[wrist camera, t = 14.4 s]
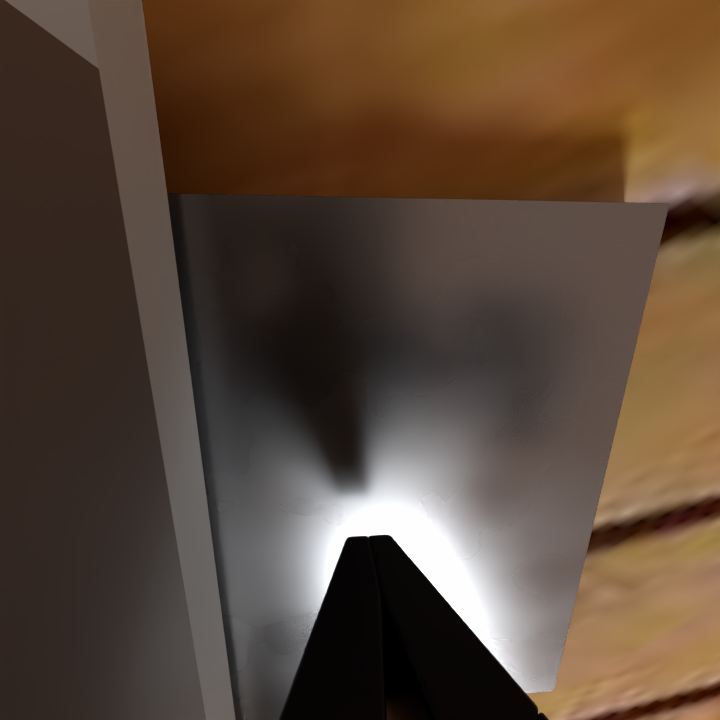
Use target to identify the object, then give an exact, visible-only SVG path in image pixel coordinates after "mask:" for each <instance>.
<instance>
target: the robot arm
mask: <svg viewBox="0 0 720 720" xmlns="http://www.w3.org/2000/svg"><path fill="white" fill-rule="evenodd" d="M279 720H549V719H548V718H547V717H546V716H545V715H544V714H543V713H539V714H538V708H537V706H536V705H535V703H534V702H533V701H532V700H531V699H530V698H529V696H528V695H527V694H526V693H525V692H524V690H523V689H522V688H521V687H520V686H519V685H518V683H517V682H516V681H515V680H514V679H513V678H512V676H511V675H510V674H509V673H508V672H507V671H506V669H505V668H504V667H503V666H502V665H501V664H500V662H499V661H498V660H497V659H496V658H495V657H494V655H493V654H492V653H491V652H490V651H489V650H488V648H487V647H486V646H485V645H484V644H483V643H482V641H481V640H480V639H479V638H478V637H477V636H476V634H475V633H474V632H473V631H472V630H471V629H470V627H469V626H468V625H467V624H466V623H465V622H464V620H463V619H462V618H461V617H460V616H459V615H458V613H457V612H456V611H455V610H454V609H453V608H452V606H451V605H450V604H449V603H448V602H447V600H446V599H445V598H444V597H443V596H442V595H441V593H440V592H439V591H438V590H437V589H436V588H435V586H434V585H433V584H432V583H431V582H430V581H429V579H428V578H427V577H426V576H425V575H424V574H423V572H422V571H421V570H420V569H419V568H418V567H417V565H416V564H415V563H414V562H413V561H412V560H411V558H410V557H409V556H408V555H407V554H406V553H405V551H404V550H403V549H402V548H401V547H400V546H399V544H398V543H397V542H396V541H395V540H394V539H393V537H392V536H390V535H388V534H384V535H370V536H369V537H368V536H350V537H348V538H347V539H346V540H345V543H344V545H343V548H342V551H341V553H340V556H339V559H338V561H337V564H336V567H335V569H334V572H333V575H332V577H331V580H330V583H329V585H328V588H327V591H326V594H325V596H324V599H323V602H322V604H321V607H320V610H319V612H318V615H317V618H316V620H315V623H314V626H313V628H312V631H311V634H310V637H309V639H308V642H307V645H306V647H305V650H304V653H303V655H302V658H301V661H300V663H299V666H298V669H297V671H296V674H295V677H294V679H293V682H292V685H291V688H290V690H289V693H288V696H287V698H286V701H285V704H284V706H283V709H282V712H281V714H280V717H279Z"/></svg>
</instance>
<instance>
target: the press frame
mask: <svg viewBox="0 0 720 720" xmlns="http://www.w3.org/2000/svg"><path fill="white" fill-rule="evenodd" d="M167 197H168V205H169V212H170V220H171V228H172V235H173V243H174V251H175V258H176V266H177V274H178V282H179V289H180V297H181V305H182V312H183V320H184V328H185V335H186V343H187V351H188V358H189V366H190V374H191V382H192V389H193V397H194V405H195V412H196V420H197V428H198V435H199V443H200V451H201V458H202V466H203V474H204V482H205V489H206V497H207V505H208V512H209V520H210V528H211V535H212V543H213V551H214V558H215V566H216V574H217V582H218V589H219V597H220V605H221V612H222V620H223V628H224V635H225V643H226V651H227V658H228V666H229V674H230V681H231V689H232V697H233V705H234V712H235V720H279V717H280V714H281V712H282V709H283V706H284V704H285V701H286V698H287V696H288V693H289V690H290V688H291V685H292V682H293V679H294V677H295V674H296V671H297V669H298V666H299V663H300V661H301V658H302V655H303V653H304V650H305V647H306V645H307V642H308V639H309V637H310V634H311V631H312V628H313V626H314V623H315V620H316V618H317V615H318V612H319V610H320V607H321V604H322V602H323V599H324V596H325V594H326V591H327V588H328V585H329V583H330V580H331V577H332V575H333V572H334V569H335V567H336V564H337V561H338V559H339V556H340V553H341V551H342V548H343V545H344V543H345V540H346V539H347V538H348V537H350V536H368V537H369V536H370V535H384V534H388V535H390V536H392V537H393V539H394V540H395V541H396V542H397V543H398V544H399V546H400V547H401V548H402V549H403V550H404V551H405V553H406V554H407V555H408V556H409V557H410V558H411V560H412V561H413V562H414V563H415V564H416V565H417V567H418V568H419V569H420V570H421V571H422V572H423V574H424V575H425V576H426V577H427V578H428V579H429V581H430V582H431V583H432V584H433V585H434V586H435V588H436V589H437V590H438V591H439V592H440V593H441V595H442V596H443V597H444V598H445V599H446V600H447V602H448V603H449V604H450V605H451V606H452V608H453V609H454V610H455V611H456V612H457V613H458V615H459V616H460V617H461V618H462V619H463V620H464V622H465V623H466V624H467V625H468V626H469V627H470V629H471V630H472V631H473V632H474V633H475V634H476V636H477V637H478V638H479V639H480V640H481V641H482V643H483V644H484V645H485V646H486V647H487V648H488V650H489V651H490V652H491V653H492V654H493V655H494V657H495V658H496V659H497V660H498V661H499V662H500V664H501V665H502V666H503V667H504V668H505V669H506V671H507V672H508V673H509V674H510V675H511V676H512V678H513V679H514V680H515V681H516V682H517V683H518V685H519V686H520V687H521V688H522V689H523V690H524V692H525V693H535V692H544V691H553V690H554V687H555V683H556V679H557V675H558V670H559V666H560V662H561V658H562V654H563V649H564V645H565V641H566V637H567V633H568V628H569V624H570V620H571V616H572V612H573V607H574V603H575V599H576V595H577V590H578V586H579V582H580V578H581V574H582V569H583V565H584V561H585V557H586V553H587V548H588V544H589V540H590V536H591V531H592V527H593V523H594V519H595V515H596V510H597V506H598V502H599V498H600V494H601V489H602V485H603V481H604V477H605V472H606V468H607V464H608V460H609V456H610V451H611V447H612V443H613V439H614V435H615V430H616V426H617V422H618V418H619V413H620V409H621V405H622V401H623V397H624V392H625V388H626V384H627V380H628V376H629V371H630V367H631V363H632V359H633V354H634V350H635V346H636V342H637V338H638V333H639V329H640V325H641V321H642V317H643V312H644V308H645V304H646V300H647V295H648V291H649V287H650V283H651V279H652V274H653V270H654V266H655V262H656V258H657V253H658V249H659V245H660V241H661V236H662V232H663V228H664V224H665V220H666V215H667V211H668V207H669V203H626V202H576V201H526V200H476V199H426V198H376V197H326V196H276V195H226V194H176V193H167Z"/></svg>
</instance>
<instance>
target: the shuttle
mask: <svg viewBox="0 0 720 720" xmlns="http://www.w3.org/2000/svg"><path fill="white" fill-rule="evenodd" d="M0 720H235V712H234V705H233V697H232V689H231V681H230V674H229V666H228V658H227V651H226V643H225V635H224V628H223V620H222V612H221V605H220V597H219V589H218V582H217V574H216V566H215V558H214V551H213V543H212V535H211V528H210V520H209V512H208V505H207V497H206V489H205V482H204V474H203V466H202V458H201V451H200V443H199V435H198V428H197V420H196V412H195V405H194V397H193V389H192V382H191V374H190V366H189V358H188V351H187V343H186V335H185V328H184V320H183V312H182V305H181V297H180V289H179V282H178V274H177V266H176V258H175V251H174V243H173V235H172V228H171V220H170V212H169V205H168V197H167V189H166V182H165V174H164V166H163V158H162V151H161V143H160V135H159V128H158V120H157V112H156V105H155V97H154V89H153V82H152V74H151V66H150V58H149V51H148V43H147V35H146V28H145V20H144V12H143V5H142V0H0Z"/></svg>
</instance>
